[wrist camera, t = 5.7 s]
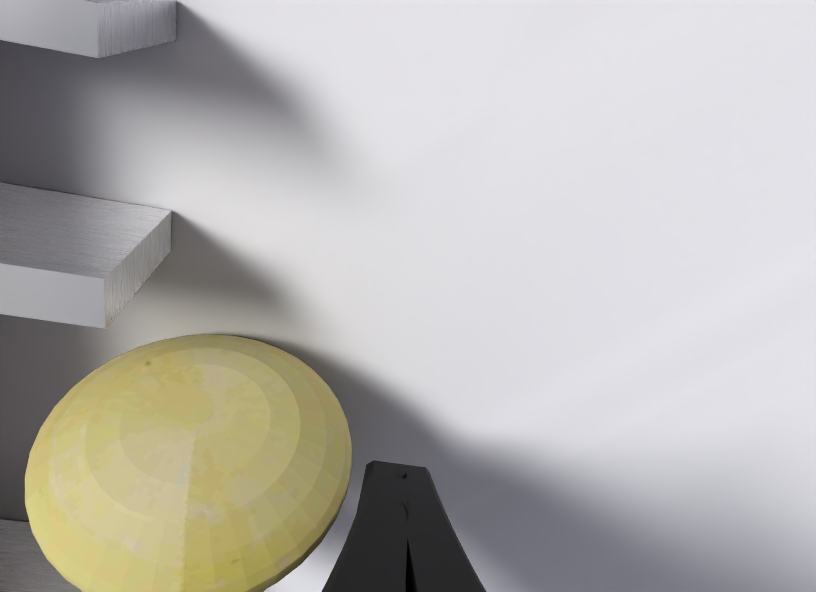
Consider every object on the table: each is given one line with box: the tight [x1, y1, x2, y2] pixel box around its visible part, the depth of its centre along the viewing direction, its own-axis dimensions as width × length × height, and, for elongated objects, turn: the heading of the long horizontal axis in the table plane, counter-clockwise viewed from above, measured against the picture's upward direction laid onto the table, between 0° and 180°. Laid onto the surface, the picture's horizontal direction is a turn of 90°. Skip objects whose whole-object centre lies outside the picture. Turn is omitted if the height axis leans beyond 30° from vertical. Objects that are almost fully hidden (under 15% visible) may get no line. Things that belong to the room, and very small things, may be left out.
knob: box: [25, 334, 352, 592], centre depth 11 cm, size 5×5×5 cm
